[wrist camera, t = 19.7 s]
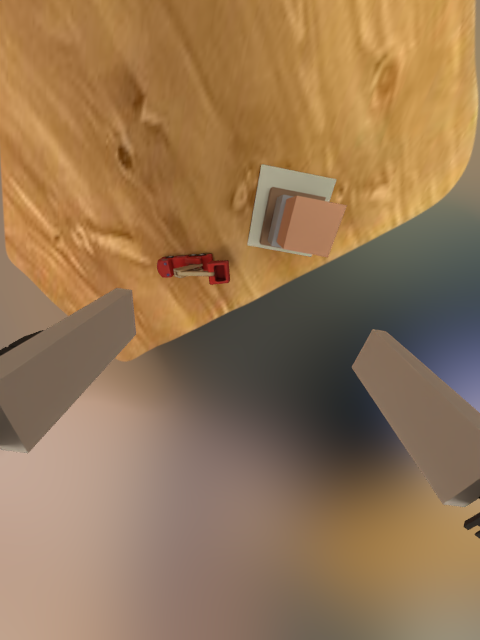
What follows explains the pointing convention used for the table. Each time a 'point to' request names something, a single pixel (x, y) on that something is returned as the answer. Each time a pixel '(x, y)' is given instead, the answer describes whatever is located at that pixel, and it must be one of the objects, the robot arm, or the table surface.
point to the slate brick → (277, 220)
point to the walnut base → (270, 209)
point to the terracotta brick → (309, 225)
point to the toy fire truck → (194, 267)
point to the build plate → (289, 182)
